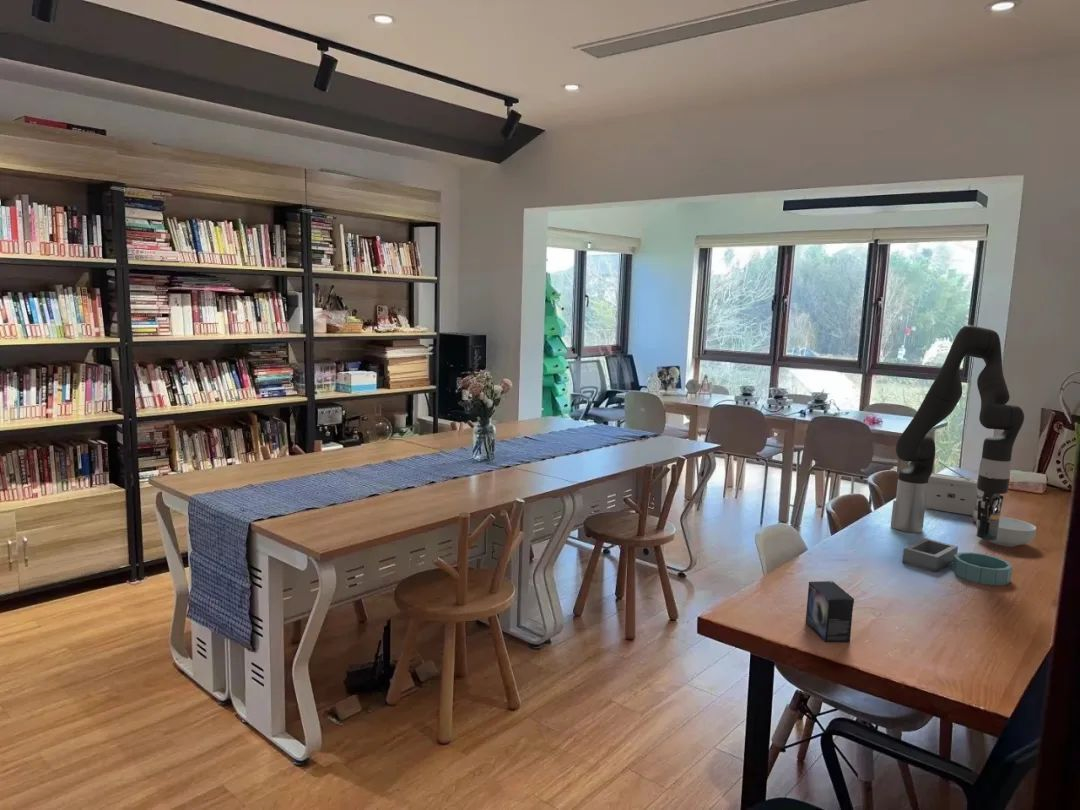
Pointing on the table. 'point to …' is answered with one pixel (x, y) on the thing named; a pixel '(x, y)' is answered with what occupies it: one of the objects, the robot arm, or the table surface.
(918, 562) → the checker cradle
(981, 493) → the plastic bottle
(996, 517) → the cell
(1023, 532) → the cereal bowl
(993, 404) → the robot arm
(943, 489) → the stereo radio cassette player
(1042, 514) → the table surface
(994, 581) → the cup
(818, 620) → the small box
